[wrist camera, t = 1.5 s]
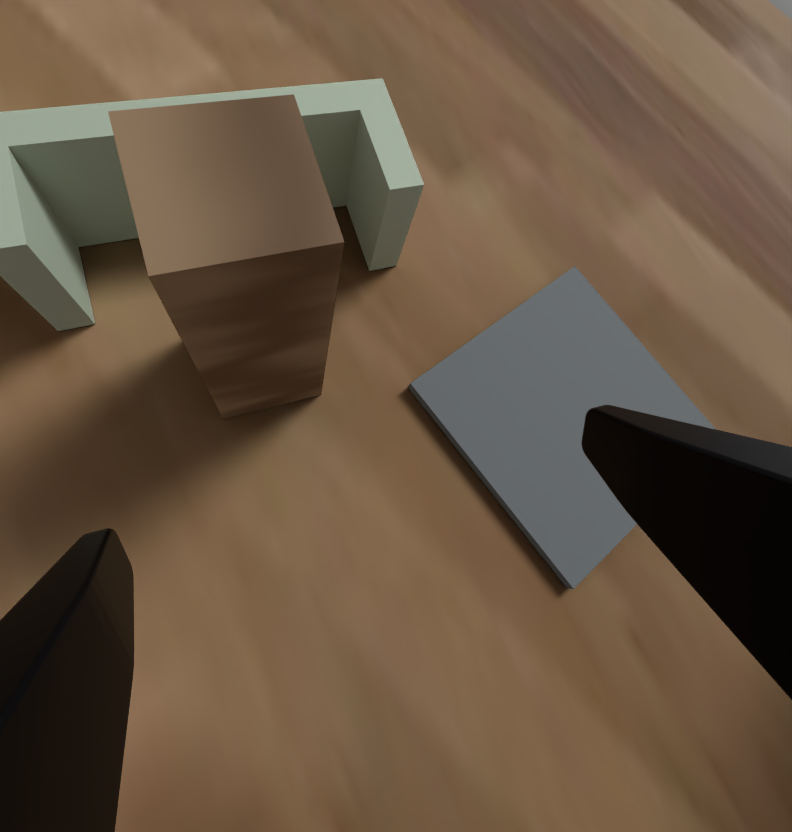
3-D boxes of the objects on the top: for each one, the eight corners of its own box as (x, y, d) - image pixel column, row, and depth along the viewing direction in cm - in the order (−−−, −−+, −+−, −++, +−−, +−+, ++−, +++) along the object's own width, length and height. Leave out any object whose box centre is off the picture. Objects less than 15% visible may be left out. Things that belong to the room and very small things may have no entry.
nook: (58, 331, 22) (-25, 252, 16) (37, 224, 23) (-48, 116, 17) (396, 265, 26) (424, 184, 20) (364, 178, 27) (382, 78, 22)
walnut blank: (223, 419, 22) (148, 276, 11) (199, 329, 23) (108, 111, 12) (320, 394, 23) (344, 241, 12) (294, 310, 24) (293, 94, 13)
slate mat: (566, 588, 23) (573, 588, 23) (407, 387, 24) (410, 383, 24) (713, 439, 27) (722, 436, 26) (569, 271, 28) (574, 266, 28)
